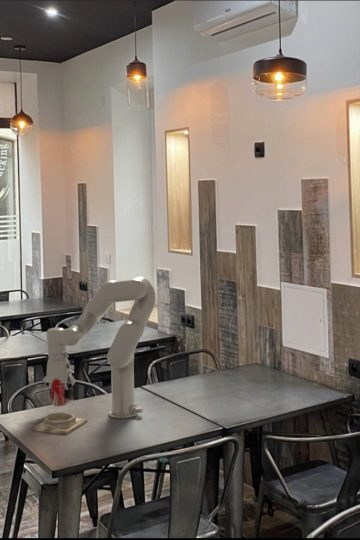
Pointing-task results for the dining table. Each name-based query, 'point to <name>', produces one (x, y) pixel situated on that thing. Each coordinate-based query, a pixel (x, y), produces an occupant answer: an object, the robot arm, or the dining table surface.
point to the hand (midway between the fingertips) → (60, 397)
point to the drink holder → (59, 423)
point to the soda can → (58, 393)
